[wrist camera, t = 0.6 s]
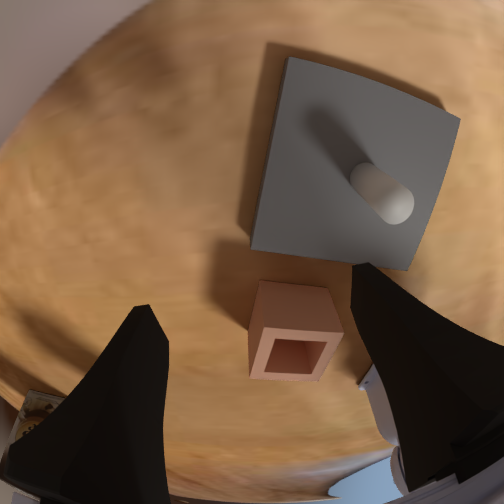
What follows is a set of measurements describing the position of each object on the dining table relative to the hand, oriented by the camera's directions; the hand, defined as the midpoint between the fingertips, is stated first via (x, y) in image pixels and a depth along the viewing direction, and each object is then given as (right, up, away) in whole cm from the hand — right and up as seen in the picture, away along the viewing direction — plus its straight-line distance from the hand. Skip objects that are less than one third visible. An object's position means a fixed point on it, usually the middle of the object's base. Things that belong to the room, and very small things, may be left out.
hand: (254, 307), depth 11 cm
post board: (+7, +7, +8) cm, 13 cm away
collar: (+3, -3, +14) cm, 14 cm away
